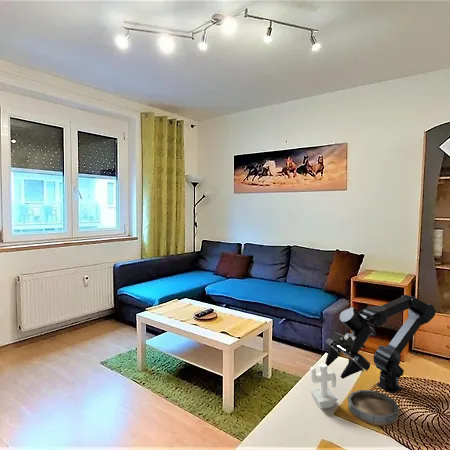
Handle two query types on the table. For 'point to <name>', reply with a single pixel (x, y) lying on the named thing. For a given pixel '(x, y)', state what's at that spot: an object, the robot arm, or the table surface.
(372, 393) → the round grey tray
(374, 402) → the brown round plate
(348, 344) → the robot arm
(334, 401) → the figurine
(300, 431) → the table surface
